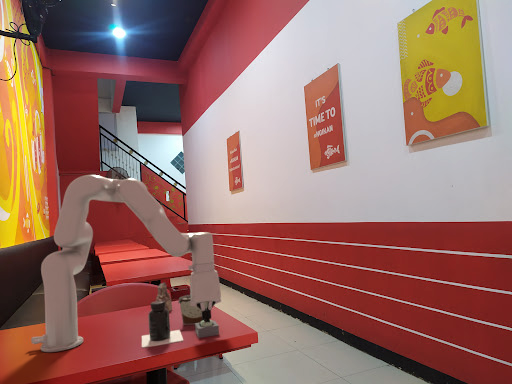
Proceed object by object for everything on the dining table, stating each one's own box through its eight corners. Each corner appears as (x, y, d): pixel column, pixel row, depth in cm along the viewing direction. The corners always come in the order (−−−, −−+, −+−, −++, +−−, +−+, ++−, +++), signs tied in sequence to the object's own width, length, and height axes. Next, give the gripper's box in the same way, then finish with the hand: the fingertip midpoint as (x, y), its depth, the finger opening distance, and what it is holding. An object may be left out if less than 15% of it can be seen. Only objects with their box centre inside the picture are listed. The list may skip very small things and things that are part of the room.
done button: (202, 332, 122) (201, 323, 122) (200, 329, 126) (199, 320, 126) (213, 330, 123) (213, 321, 123) (211, 327, 127) (211, 319, 127)
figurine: (152, 312, 158) (151, 285, 159) (160, 308, 165) (159, 281, 166) (167, 312, 156) (166, 284, 157) (174, 308, 163) (173, 281, 164)
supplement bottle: (161, 333, 126) (159, 298, 127) (174, 336, 122) (172, 300, 123) (145, 340, 121) (143, 303, 121) (158, 342, 117) (156, 305, 118)
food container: (214, 318, 142) (213, 293, 142) (211, 323, 136) (209, 296, 136) (184, 320, 143) (182, 294, 144) (179, 324, 137) (177, 298, 137)
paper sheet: (141, 347, 114) (141, 347, 114) (141, 336, 125) (141, 335, 125) (183, 341, 118) (183, 340, 118) (179, 330, 129) (179, 329, 129)
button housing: (198, 338, 120) (198, 328, 120) (195, 331, 127) (195, 323, 127) (219, 334, 122) (218, 325, 122) (215, 328, 129) (214, 320, 129)
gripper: (183, 271, 120) (186, 327, 119) (226, 266, 125) (230, 320, 123) (180, 269, 127) (183, 322, 126) (222, 264, 132) (225, 315, 130)
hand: (206, 321), depth 125 cm, fingers closed
